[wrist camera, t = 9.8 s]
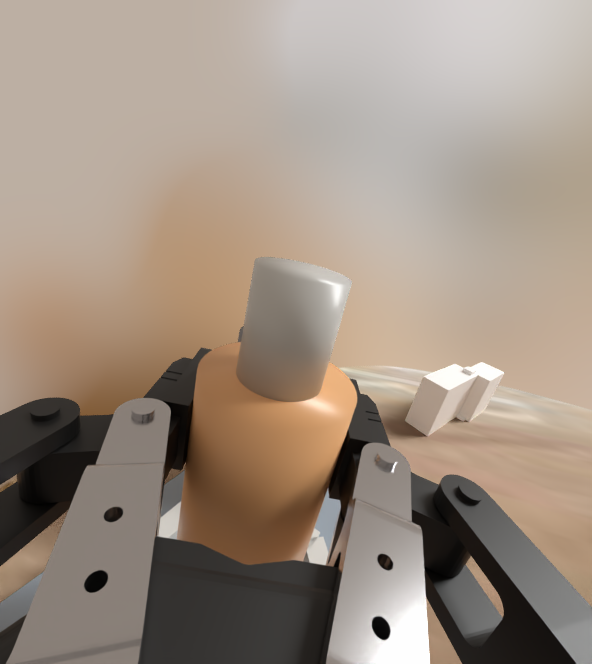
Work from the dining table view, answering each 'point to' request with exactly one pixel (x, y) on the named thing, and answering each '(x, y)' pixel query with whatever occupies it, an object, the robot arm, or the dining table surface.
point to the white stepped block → (452, 396)
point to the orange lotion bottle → (269, 419)
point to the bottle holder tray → (172, 495)
